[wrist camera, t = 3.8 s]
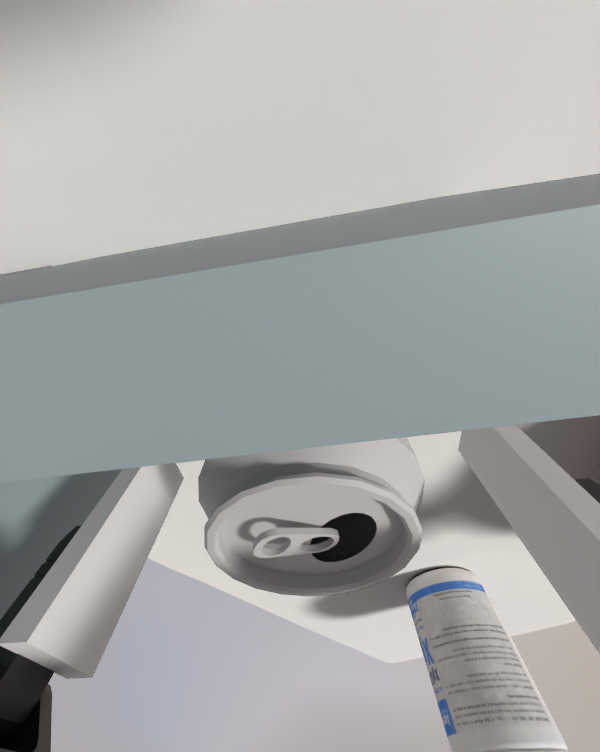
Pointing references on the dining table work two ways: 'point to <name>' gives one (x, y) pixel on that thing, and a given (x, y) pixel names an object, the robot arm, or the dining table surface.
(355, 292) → the screen
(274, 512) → the can
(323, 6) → the dining table surface
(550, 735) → the supplement tub
